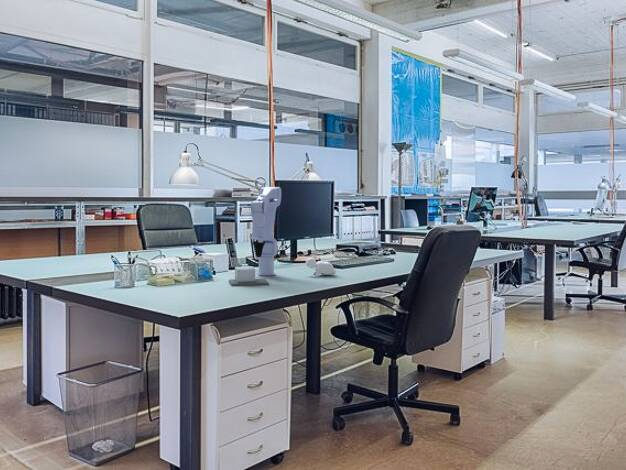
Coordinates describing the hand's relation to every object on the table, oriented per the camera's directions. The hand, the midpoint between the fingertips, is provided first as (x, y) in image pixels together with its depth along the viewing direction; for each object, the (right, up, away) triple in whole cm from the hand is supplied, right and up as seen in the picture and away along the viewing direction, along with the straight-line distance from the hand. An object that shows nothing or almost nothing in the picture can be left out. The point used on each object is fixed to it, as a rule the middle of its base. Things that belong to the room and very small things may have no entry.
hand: (258, 256), depth 269 cm
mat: (-3, -11, -11) cm, 16 cm away
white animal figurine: (+29, -10, +14) cm, 33 cm away
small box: (-6, -7, -4) cm, 10 cm away
